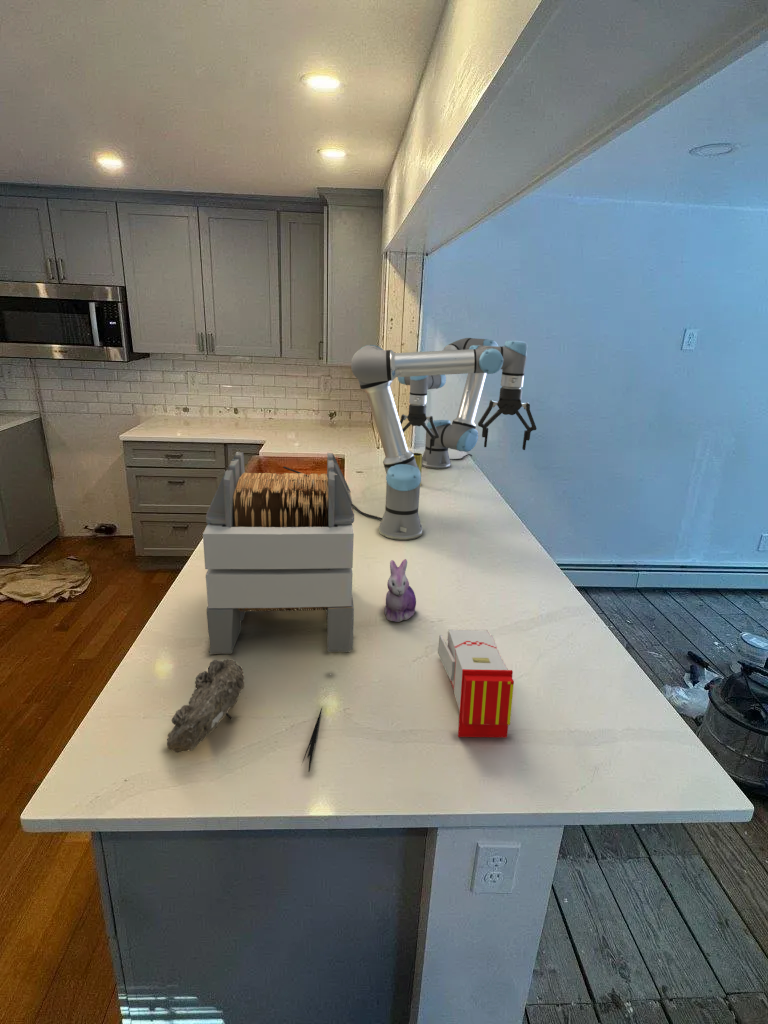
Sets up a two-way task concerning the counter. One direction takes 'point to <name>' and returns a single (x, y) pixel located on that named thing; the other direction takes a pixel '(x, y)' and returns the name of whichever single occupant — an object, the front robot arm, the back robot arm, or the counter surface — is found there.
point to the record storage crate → (279, 550)
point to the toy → (478, 682)
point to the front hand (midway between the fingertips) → (504, 447)
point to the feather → (313, 740)
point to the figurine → (399, 594)
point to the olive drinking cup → (418, 461)
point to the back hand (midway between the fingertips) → (415, 452)
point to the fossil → (206, 705)
